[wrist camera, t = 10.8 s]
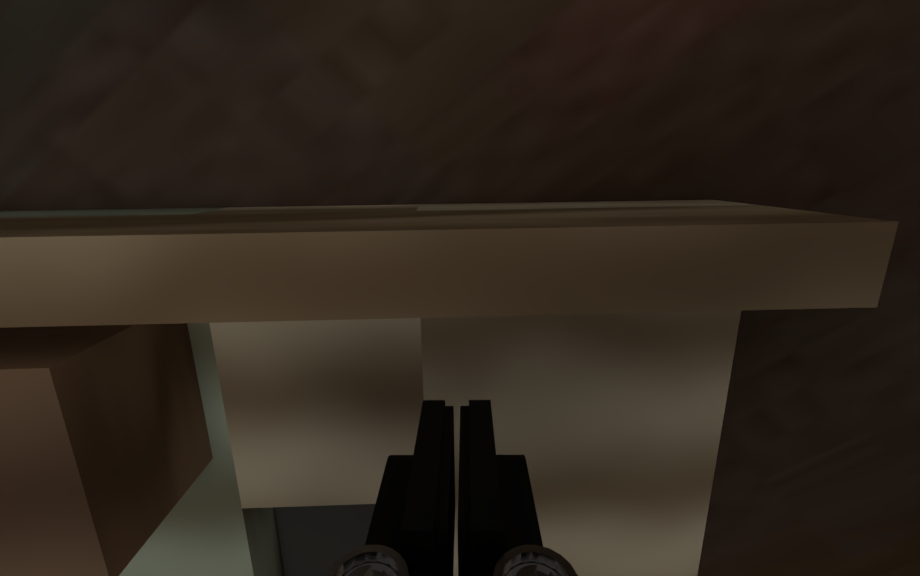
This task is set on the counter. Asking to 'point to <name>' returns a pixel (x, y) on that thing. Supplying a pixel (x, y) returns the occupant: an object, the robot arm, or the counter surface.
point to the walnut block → (94, 443)
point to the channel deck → (446, 349)
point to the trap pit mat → (320, 535)
